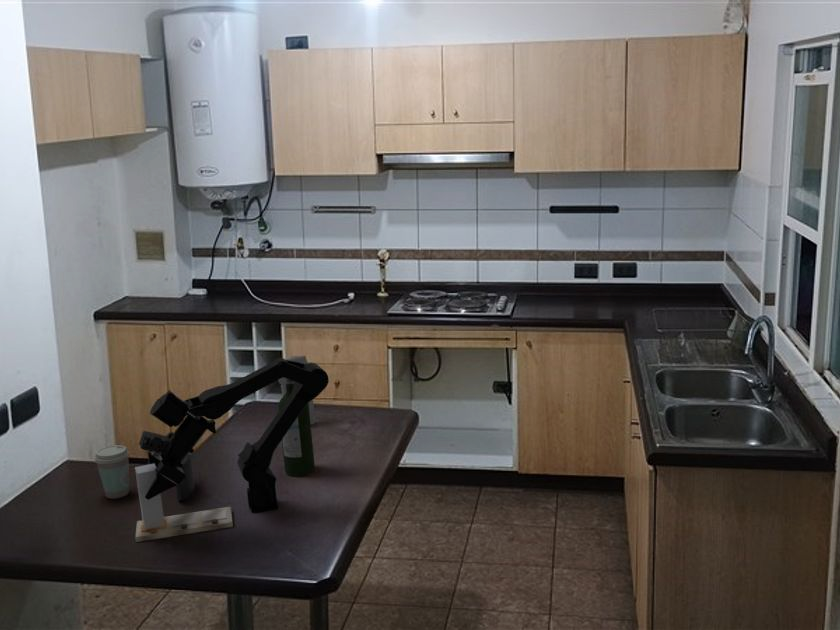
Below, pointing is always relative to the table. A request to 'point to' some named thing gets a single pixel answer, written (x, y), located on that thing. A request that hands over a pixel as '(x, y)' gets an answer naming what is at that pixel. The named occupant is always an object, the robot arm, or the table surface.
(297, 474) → the wine bottle
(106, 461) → the coffee cup
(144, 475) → the block
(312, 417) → the tall pale column
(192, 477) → the leaning round-cornered charcoal block
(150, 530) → the switch board
